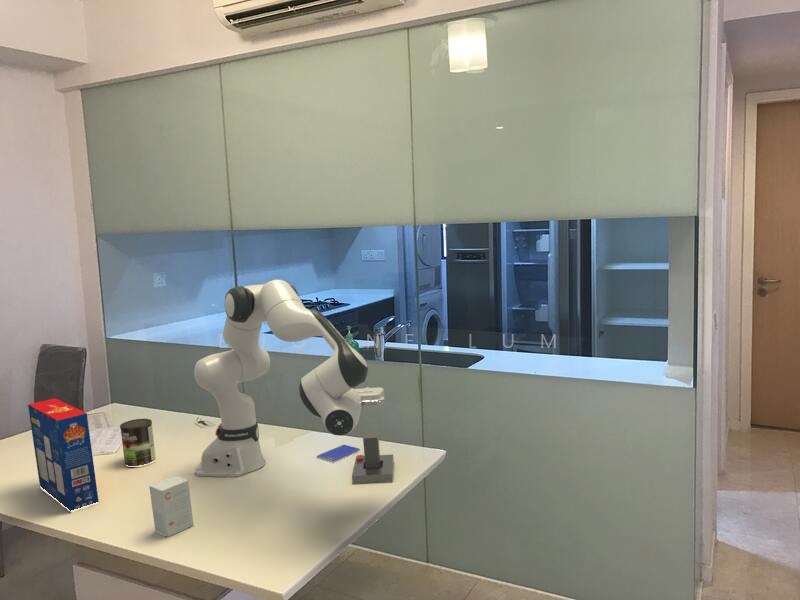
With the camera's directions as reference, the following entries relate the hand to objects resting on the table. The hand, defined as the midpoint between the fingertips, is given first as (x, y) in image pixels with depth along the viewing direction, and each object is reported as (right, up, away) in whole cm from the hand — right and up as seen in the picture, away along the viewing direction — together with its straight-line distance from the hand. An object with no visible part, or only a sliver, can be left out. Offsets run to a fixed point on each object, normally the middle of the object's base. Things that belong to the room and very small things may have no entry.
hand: (350, 390), depth 196 cm
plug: (+6, -28, +16) cm, 33 cm away
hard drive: (-6, -27, +34) cm, 44 cm away
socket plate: (+6, -28, +16) cm, 33 cm away
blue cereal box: (-88, -35, +14) cm, 95 cm away
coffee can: (-75, -30, +39) cm, 90 cm away
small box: (-46, -36, -13) cm, 60 cm away
